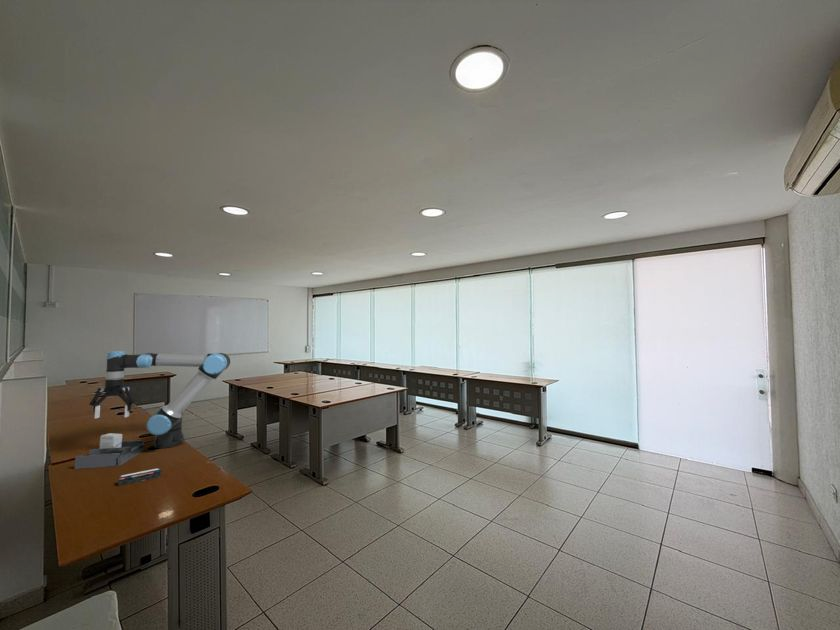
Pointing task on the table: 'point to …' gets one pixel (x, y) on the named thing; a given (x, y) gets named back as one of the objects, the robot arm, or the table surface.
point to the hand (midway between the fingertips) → (112, 417)
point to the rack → (110, 455)
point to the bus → (139, 476)
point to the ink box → (110, 441)
